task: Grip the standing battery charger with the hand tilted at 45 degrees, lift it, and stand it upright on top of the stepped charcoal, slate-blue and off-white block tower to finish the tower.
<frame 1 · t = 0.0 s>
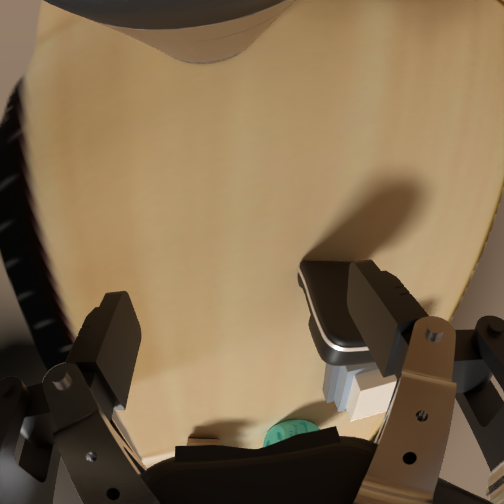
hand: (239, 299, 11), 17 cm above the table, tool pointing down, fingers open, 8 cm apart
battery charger: (325, 274, 33), on the table
toy train: (202, 448, 52), on the table
decorative dice: (290, 428, 50), on the table
block tower: (365, 358, 41), on the table
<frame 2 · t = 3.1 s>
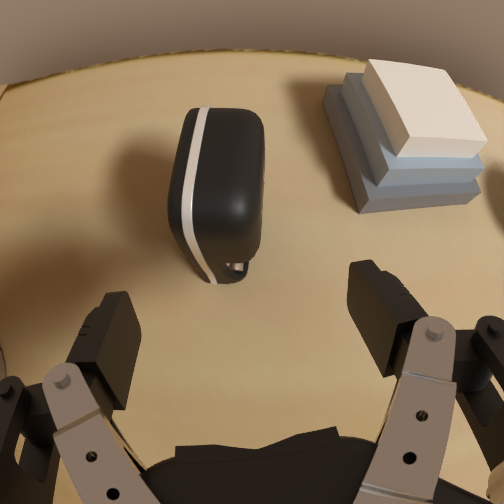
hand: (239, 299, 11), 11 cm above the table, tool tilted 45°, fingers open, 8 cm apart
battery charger: (233, 242, 23), on the table
block tower: (398, 150, 26), on the table
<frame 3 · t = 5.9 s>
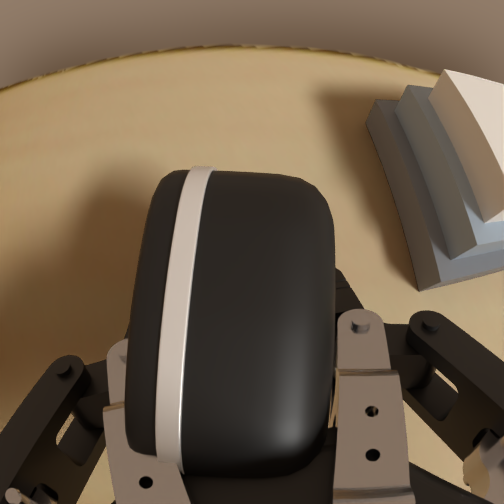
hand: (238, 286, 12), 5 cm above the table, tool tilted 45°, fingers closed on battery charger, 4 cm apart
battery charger: (247, 341, 16), on the table, touching gripper
block tower: (461, 192, 18), on the table
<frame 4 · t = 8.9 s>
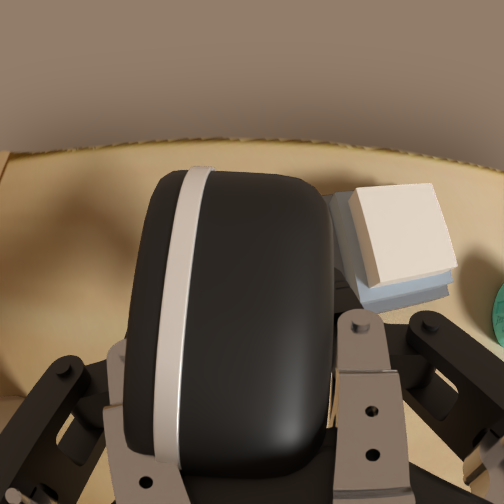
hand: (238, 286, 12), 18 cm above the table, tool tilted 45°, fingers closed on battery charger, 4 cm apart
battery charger: (247, 341, 16), point 13 cm above the table, touching gripper
block tower: (378, 254, 31), on the table
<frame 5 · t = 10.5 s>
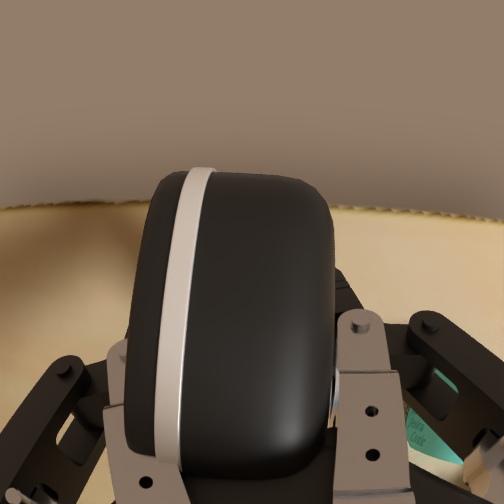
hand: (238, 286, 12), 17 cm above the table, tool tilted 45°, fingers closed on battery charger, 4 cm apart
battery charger: (248, 342, 16), point 12 cm above the table, touching gripper
decorative dice: (438, 410, 25), on the table
when the fingers open (13 cm above the table, at t = 11.9 s): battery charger drops 1 cm, resting on block tower.
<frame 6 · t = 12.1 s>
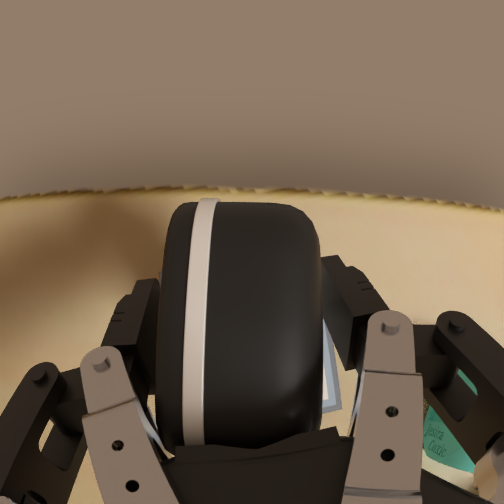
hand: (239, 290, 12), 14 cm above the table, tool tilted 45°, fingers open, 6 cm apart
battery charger: (250, 346, 17), point 7 cm above the table, touching block tower
decorative dice: (455, 416, 22), on the table
block tower: (248, 344, 24), on the table
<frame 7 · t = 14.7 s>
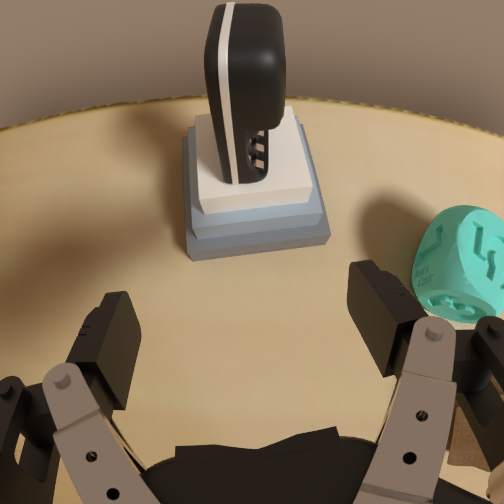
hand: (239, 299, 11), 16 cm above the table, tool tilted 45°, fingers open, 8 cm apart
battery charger: (251, 150, 23), point 7 cm above the table, touching block tower
toy train: (494, 418, 22), on the table
decorative dice: (443, 278, 27), on the table
block tower: (250, 193, 30), on the table
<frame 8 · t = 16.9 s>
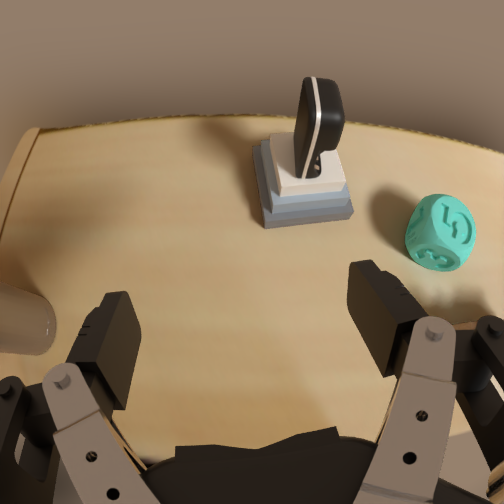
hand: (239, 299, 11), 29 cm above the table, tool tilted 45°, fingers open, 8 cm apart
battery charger: (309, 159, 38), point 7 cm above the table, touching block tower
decorative dice: (426, 243, 42), on the table
block tower: (299, 185, 45), on the table
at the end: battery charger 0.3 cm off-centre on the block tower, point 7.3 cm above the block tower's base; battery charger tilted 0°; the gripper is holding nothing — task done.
